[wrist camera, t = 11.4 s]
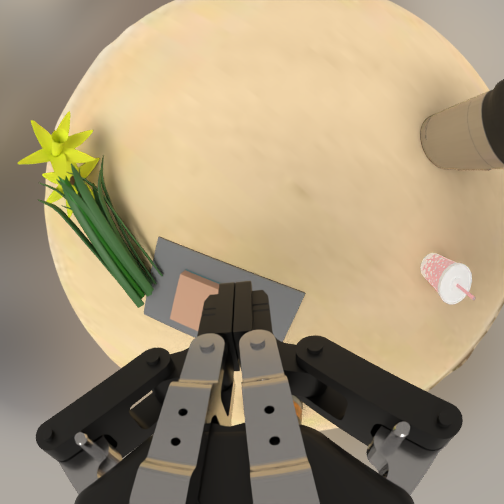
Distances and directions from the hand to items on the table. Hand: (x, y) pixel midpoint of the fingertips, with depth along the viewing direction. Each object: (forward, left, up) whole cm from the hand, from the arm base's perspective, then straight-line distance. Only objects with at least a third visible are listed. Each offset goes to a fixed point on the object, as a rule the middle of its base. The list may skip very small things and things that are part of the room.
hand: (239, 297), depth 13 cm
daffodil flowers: (+27, +8, -29) cm, 40 cm away
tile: (+1, +18, -27) cm, 32 cm away
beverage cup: (-27, -2, -29) cm, 40 cm away
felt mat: (+5, +18, -29) cm, 34 cm away
